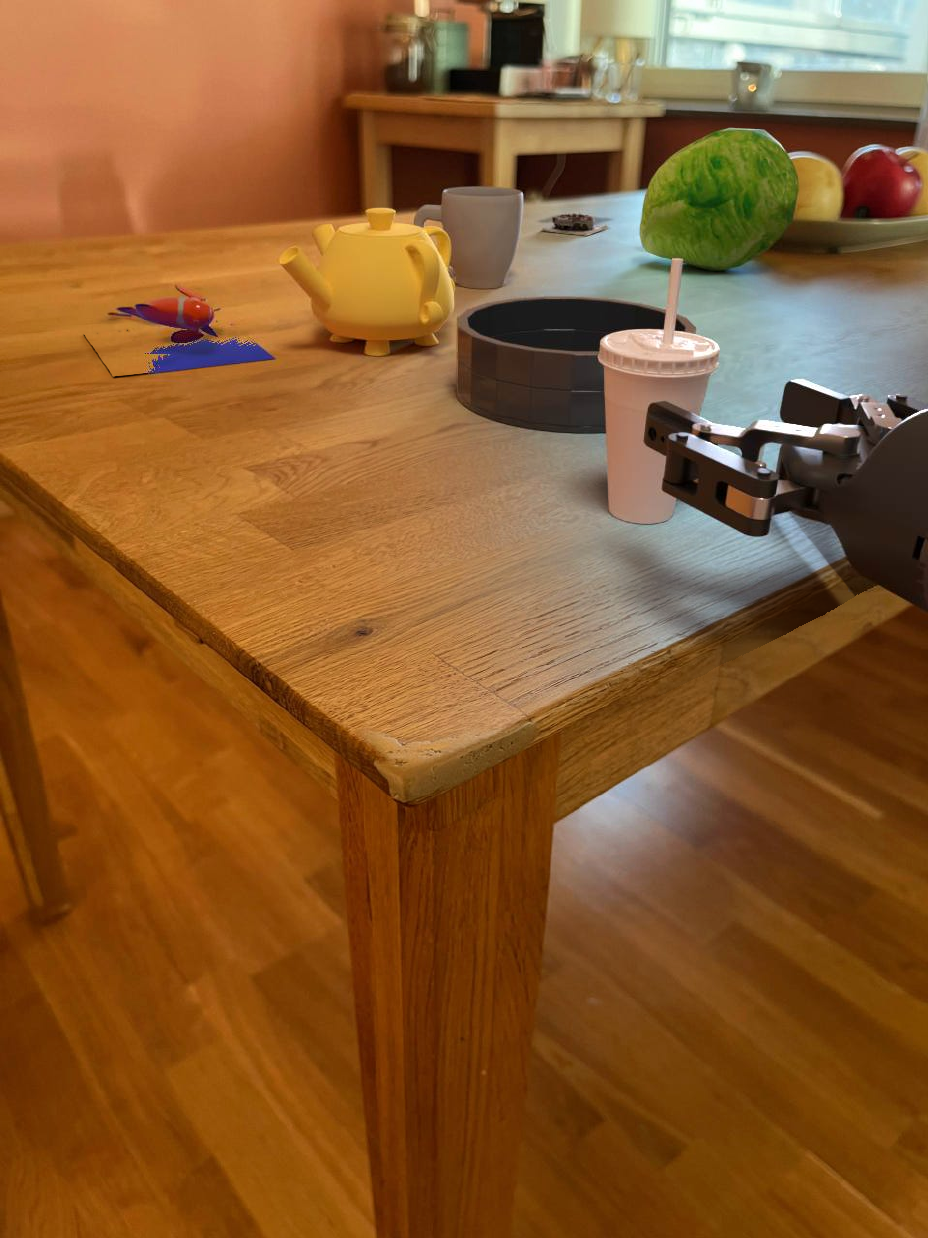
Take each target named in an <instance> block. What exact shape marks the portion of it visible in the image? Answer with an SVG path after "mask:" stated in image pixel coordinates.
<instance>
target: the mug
mask: <svg viewBox="0 0 928 1238" xmlns="http://www.w3.org/2000/svg"><path fill="white" fill-rule="evenodd" d="M523 211H524V194H523V191H522V190H519V189H516V188H511V187H502V186H501V187H500V186H480V185H479V186H478V185H477V186H456V187H449V188H446V189H443V191H442V193H441V204H439V205H438V204H437V205H436V204H424V205H422V206H421V207H420V208H419V209H417V211H416V213H415V215H414V218H413V225H416V226H419V227H422V228H423V227H426V225H425V223H426V221H433V222H438V223H439V222H440V223H441V225H442V230H444V231H445V232H446V233H447V234H448V236H449V238H450V242H451V256H450V262H449V267H451V268H452V270H453V272H454V276H455V278H456V283H457V285H458V286H460V287H464V288H469V289H477V290H479V289H481V290H482V289H483V290H487V289H496V288H501V287H503V286H504V285H505V283H506V279H507V277H508V273H509V272H510V269H511V268H512V265H513V263H514V260H515V257H516V254H517V250H518V247H519V242H520V237H521V231H522V222H523V215H524V214H523V213H524V212H523Z"/></svg>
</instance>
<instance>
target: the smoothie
mask: <svg viewBox="0 0 928 1238" xmlns="http://www.w3.org/2000/svg"><path fill="white" fill-rule="evenodd" d="M683 264H684V263H683V259H679V258H673V259H672V260H671V264H670V272H669V273H670V274H669V281H668V290H667V298H666V305H665V306H666V307H665V310H666V315H665V324H664V330H660V329H635V330H625V331H619V332H615V333H611V334H609V335H606V336H605V337H604V338H602V339H601V341H600V352H599V355H598V360H599V362H600V363H601V364H603V365H604V393H605V415H606V432H605V439H606V441H605V442H606V443H605V444H606V467H607V468H606V469H607V497H608V512H609V513H610V514H611V515H612V516H613V517H614V518H617V519H618V520H621V521H624V522H627V523H632V524H639V525H653V524H660V523H663V522H666V521H669V520H670V519H671V518H672V517H673V515H674V512H675V508H676V504H677V500H678V499H676V498H674V497H673V496H671V495H669V494H667V493H665V492H663V491H662V480H663V477H664V471H665V463H666V456H664V455H662V454H660V453H659V452H657V451H655V450H653V449H651V448H649V447H647V446H646V445H645V443H644V442H643V441H644V432H645V423H646V414H647V410H648V406H649V405H650V404H651V403H655V402H661V401H667V402H669V403H671V404H673V405H675V406H678V407H680V408H682V409H684V410H686V411H688V412H690V413H692V414H695V415H697V416H699V417H700V415H701V411H702V407H703V403H704V401H705V397H706V394H707V393H706V392H707V389H708V384H709V380H710V377H711V374H712V373H713V372H714V371H716V370H717V369H718V368H719V365H720V362H719V355H720V351H721V348H720V346H719V344H718V343H716V342H715V341H713V340H712V339H709V338H708V337H705V336H702V335H698V334H696V335H695V334H691V333H686V332H680V331H675V322H676V314H678V313H677V312H678V305H679V297H680V288H681V282H682V281H681V279H682V273H683Z"/></svg>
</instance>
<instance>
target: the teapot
mask: <svg viewBox="0 0 928 1238" xmlns="http://www.w3.org/2000/svg"><path fill="white" fill-rule="evenodd" d="M365 215H366V218H367V221H368V222H359V223H357V222H356V223H350V224H346V225H342V226H340V227H338V229H336V231H335V228H334V227H333V224H331V223H326V224H321V225H319V226H318V227H316V228H315V229H313V231H312V232H311V237H312V238H313V240H314V242H315V244H316V246H317V249H318V251H319V253H320V255H321V257H320V260H319V262H318V264H317V266H316V267H315V266H314V264H313V263H312V262H311V260H310V259H309V258H308V257H307V255H306V254H305V253H304V252H303V250H302V249H301V248H300V247H299V246H298V245H292V246H291V247H289V248H287V249H286V250H285V251H283V253H282V254H281V255H280V257H279V260H278V263H279V264H280V266H281V267H282V268H283V269H284V270H285V272H287V274H289V276H290V277H291V278H292V279H293V280H294V281H295V283H296V284H297V285H298V286H299V287H300V288H301V289H302V290H303V291H304V293H305V294H306V295H307V296H308V297H309V298H310V305H311V306H310V307H311V310H312V313H313V315H314V316H315V317H316V318H317V320H318V321H319V322H320V323H321V324H322V325H323V326H324V327H325V329H326V330H328V332H330V333H331V336H330V338H329V341H330V342H332V343H351V342H354V341H355V339H357V340H366V341H365V346H364V351H363V353H364V355H367V356H371V357H372V356H373V357H380V356H381V357H382V356H387V355H389V354H390V353H391V349H390V341H399V340H409V339H412V342H413V344H415V345H417V346H424V347H428V346H429V347H431V346H436V345H438V344H439V341H438V339H437V338H436V336H435V334H434V333H436V332H438V331H439V330H440V329H441V328H442V327H443V326H444V325H445V324H446V322H448V320H449V318H450V317H451V316H452V314H453V312H454V309H455V291H456V283H455V282H454V280H453V278H451V275H450V274H449V267H450V266H449V262H450V256H451V242H450V238H449V236H448V234H447V233H446V232H445V231H444V230H443V228H440V227H438V226H434V225H427V226H426V225H425V227H423V228H422V227H419V226H416V225H414V224H409V223H402V222H394V220H395V217H396V210H395V209H393V208H390V207H371V208H368V209H366V210H365ZM432 236H434V237H435V238H436V241H437V246H436V245H435V243H434V242H433V239H432V238H431V237H432Z"/></svg>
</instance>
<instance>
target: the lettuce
mask: <svg viewBox="0 0 928 1238" xmlns="http://www.w3.org/2000/svg"><path fill="white" fill-rule="evenodd" d="M799 190H800V185H799V176H798V173H797V170H796V166H795V164H794V163H793V161H792V158H791V157H790V156H789V154H788V152H787V151H786V150H785V148H784V147H783V145H782V144H781V143H780V142H779V141H778V140H777V139H776V138H775V137H773V135H771V134H770V133H769V132H768V131H766V130H765V129H758V128H757V129H755V128H739V127H738V128H735V127H728V128H724V129H720V130H717V131H713V132H711V133H709V134H707V135H705V136H703V137H701V138H699V139H698V140H696V141H694V142H692V143H690V144H688V145H686V146H684V147H682V148H681V149H680V150H678V151H677V152H675V153H674V154H672V155H670V157H669V158H668V159H667V160H666V161H664V163H663V164H662V165H661V166H660V167H658V169H657V171H655V173H654V174H653V176H652V177H651V179H650V181H649V182H648V186H647V189H646V190H645V191H646V192H645V194H644V198H643V203H642V208H641V217H640V223H639V234H638V236H639V238H640V243H641V246H642V248H643V249H644V251H645V252H646V253H649V254H650V255H653V256H656V257H659V258H662V259H668V260H671V261H672V259H673V258H679V259H683V264H684V265H688V266H693V267H696V268H699V269H703V270H706V271H727V270H730V269H731V270H732V269H735V268H739V267H741V266H743V265H746V264H747V263H749V262H750V261H752V260H754V259H756V258H758V257H759V256H760V255H762V254H763V253H765V252H767V251H769V250H770V248H771V247H772V246H773V245H774V244H775V243H777V241H778V240H780V239H781V237H782V236H783V234H784V233H785V232H786V230H787V229H788V228H789V226H790V225H791V223H792V222H793V220H794V217H795V212H796V208H797V203H798V198H799V197H798V196H799Z"/></svg>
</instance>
